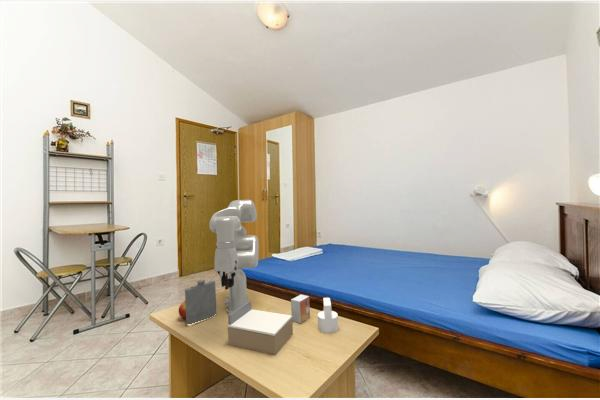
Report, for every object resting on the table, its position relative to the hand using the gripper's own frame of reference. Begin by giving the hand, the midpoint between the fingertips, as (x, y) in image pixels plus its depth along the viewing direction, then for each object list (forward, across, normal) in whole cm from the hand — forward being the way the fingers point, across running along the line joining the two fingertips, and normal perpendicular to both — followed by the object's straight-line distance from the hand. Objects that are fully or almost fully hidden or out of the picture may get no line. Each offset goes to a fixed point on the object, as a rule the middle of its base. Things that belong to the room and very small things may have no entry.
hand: (227, 285), depth 118 cm
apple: (+21, -30, +5) cm, 38 cm away
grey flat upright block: (+21, -22, +6) cm, 31 cm away
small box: (+22, +26, +22) cm, 40 cm away
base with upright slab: (+22, +40, +18) cm, 49 cm away
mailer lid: (+14, +17, 0) cm, 22 cm away
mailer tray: (+21, +16, 0) cm, 27 cm away
